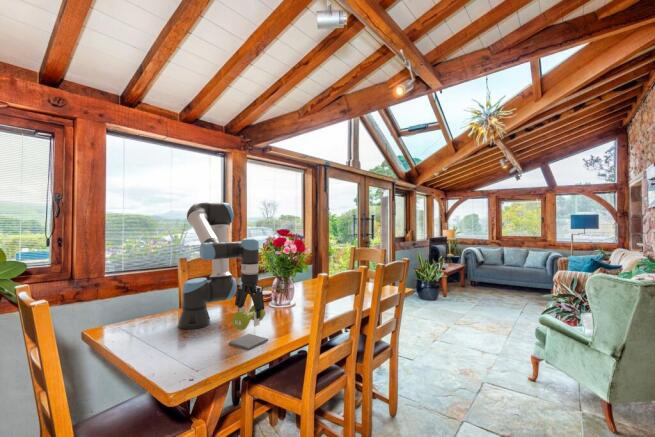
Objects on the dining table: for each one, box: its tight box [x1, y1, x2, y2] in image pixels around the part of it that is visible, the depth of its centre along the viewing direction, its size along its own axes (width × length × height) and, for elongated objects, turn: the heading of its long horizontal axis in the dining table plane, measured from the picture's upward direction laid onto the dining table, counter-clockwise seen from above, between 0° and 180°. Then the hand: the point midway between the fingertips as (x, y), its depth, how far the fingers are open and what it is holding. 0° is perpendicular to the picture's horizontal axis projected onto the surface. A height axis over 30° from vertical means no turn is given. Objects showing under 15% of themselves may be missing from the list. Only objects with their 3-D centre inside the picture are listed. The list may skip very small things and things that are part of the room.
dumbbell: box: [231, 304, 266, 331], centre depth 141 cm, size 16×8×7 cm, turn 158°
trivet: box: [228, 333, 269, 351], centre depth 141 cm, size 12×12×1 cm
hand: (249, 323), depth 141 cm, fingers closed on dumbbell, 8 cm apart
